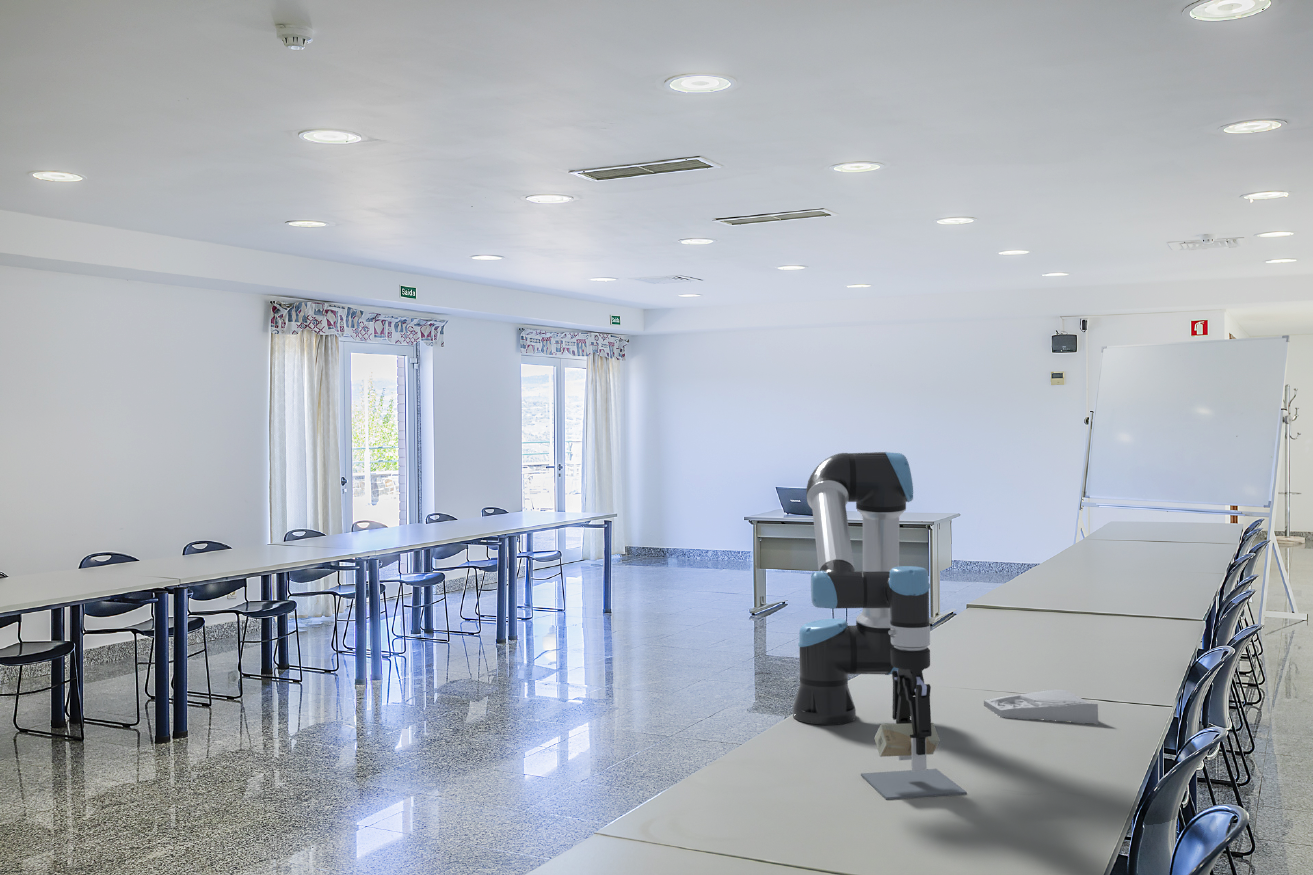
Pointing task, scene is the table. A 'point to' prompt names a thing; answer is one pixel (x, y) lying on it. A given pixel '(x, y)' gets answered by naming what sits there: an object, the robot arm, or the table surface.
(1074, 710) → the ramp
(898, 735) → the box
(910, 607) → the robot arm
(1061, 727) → the table surface
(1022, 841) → the table surface
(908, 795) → the mat
